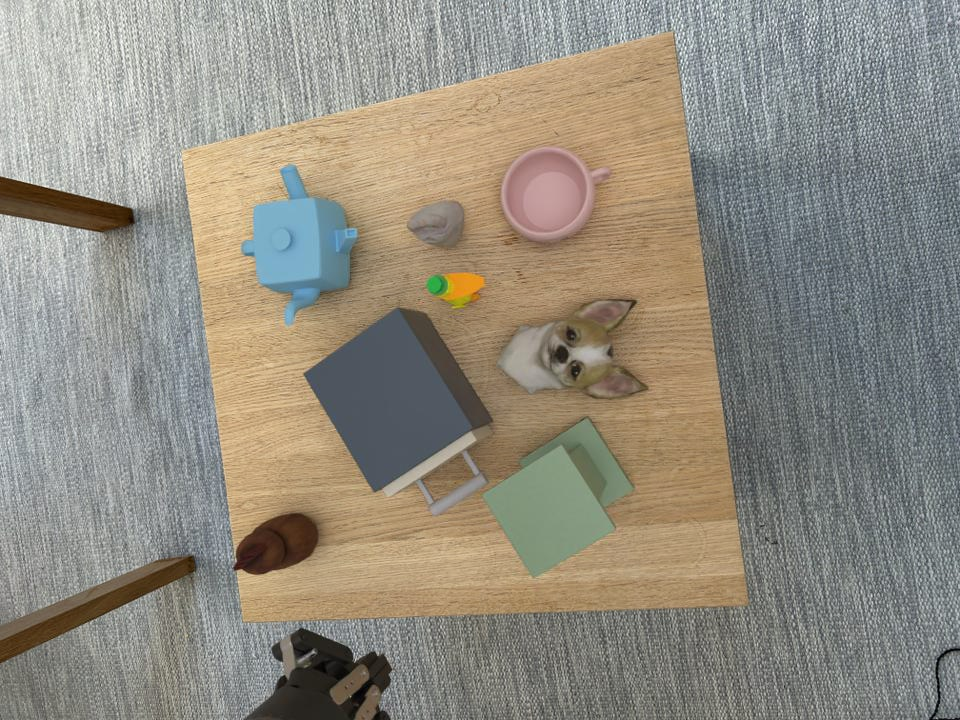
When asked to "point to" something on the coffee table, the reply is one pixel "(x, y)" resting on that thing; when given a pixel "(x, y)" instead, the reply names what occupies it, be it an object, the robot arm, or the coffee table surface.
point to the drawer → (437, 462)
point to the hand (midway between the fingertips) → (378, 666)
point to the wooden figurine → (277, 544)
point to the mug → (549, 193)
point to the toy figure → (456, 288)
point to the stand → (559, 498)
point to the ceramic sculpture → (572, 353)
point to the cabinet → (396, 395)
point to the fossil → (439, 223)
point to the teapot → (300, 245)
